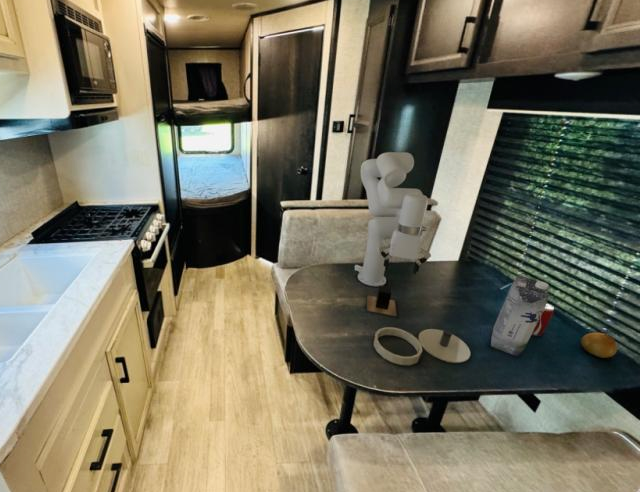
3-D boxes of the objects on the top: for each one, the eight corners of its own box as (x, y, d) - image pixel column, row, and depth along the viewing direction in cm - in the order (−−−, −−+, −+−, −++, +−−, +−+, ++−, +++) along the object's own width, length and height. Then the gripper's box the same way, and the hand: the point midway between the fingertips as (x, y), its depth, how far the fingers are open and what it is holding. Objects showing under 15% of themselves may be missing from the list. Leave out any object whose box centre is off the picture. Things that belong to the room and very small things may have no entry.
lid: (411, 346, 110) (415, 332, 107) (426, 325, 120) (430, 311, 117) (462, 372, 100) (468, 357, 97) (474, 346, 109) (480, 332, 107)
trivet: (366, 311, 127) (367, 310, 127) (367, 296, 137) (367, 295, 136) (396, 317, 124) (396, 316, 124) (394, 301, 133) (394, 300, 133)
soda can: (542, 338, 113) (556, 312, 108) (523, 332, 116) (536, 306, 110) (541, 330, 116) (554, 304, 111) (523, 325, 119) (535, 299, 114)
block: (375, 307, 129) (378, 291, 125) (375, 301, 133) (378, 285, 129) (387, 310, 127) (391, 293, 124) (387, 303, 131) (390, 287, 128)
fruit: (623, 362, 100) (625, 337, 100) (588, 355, 103) (590, 331, 104) (607, 357, 107) (609, 334, 108) (575, 351, 110) (576, 328, 111)
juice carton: (487, 347, 109) (515, 282, 98) (490, 331, 116) (517, 269, 105) (520, 360, 104) (553, 293, 92) (521, 343, 111) (553, 279, 99)
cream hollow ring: (366, 349, 109) (367, 341, 107) (383, 328, 118) (385, 321, 116) (410, 373, 99) (412, 365, 98) (425, 349, 108) (428, 342, 107)
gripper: (435, 228, 112) (424, 269, 118) (382, 221, 118) (375, 262, 124) (438, 235, 105) (427, 279, 112) (383, 228, 111) (375, 270, 118)
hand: (399, 270), depth 118 cm, fingers open, 9 cm apart
